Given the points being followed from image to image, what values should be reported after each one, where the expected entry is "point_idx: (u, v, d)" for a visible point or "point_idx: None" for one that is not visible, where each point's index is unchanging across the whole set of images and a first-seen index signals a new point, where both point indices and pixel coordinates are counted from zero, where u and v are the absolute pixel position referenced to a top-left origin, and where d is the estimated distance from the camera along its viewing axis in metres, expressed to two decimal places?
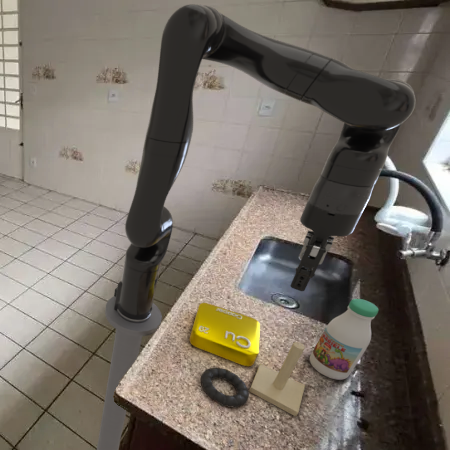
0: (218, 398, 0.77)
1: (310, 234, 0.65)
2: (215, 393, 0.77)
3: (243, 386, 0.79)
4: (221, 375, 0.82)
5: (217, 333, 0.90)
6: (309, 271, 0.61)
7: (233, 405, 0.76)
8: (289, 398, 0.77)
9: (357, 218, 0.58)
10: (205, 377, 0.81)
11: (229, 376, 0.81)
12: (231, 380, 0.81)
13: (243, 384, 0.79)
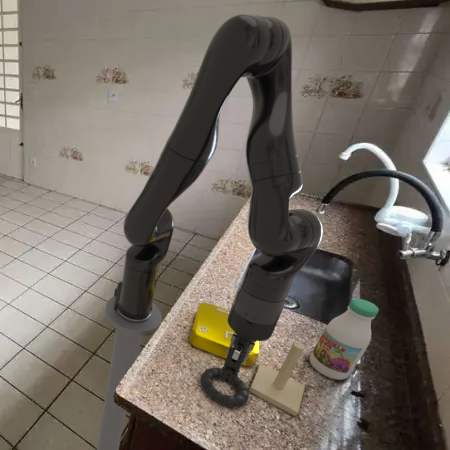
0: (218, 398, 0.77)
1: None
2: (215, 393, 0.77)
3: (243, 386, 0.79)
4: (221, 375, 0.82)
5: (217, 333, 0.90)
6: (233, 371, 0.66)
7: (233, 405, 0.76)
8: (289, 398, 0.77)
9: (273, 326, 0.63)
10: (205, 377, 0.81)
11: None
12: None
13: (243, 384, 0.79)
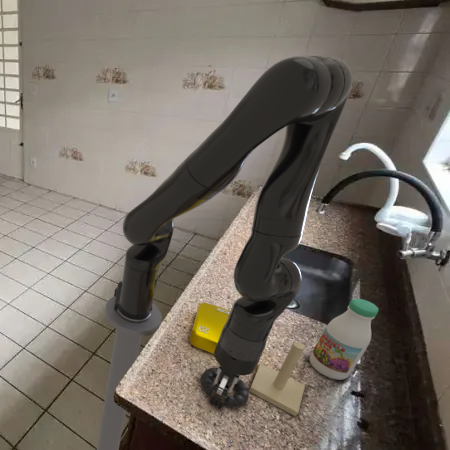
0: None
1: None
2: None
3: (243, 386, 0.79)
4: None
5: (217, 333, 0.90)
6: None
7: (233, 405, 0.76)
8: (289, 398, 0.77)
9: (255, 363, 0.67)
10: (205, 377, 0.81)
11: None
12: None
13: (243, 384, 0.79)
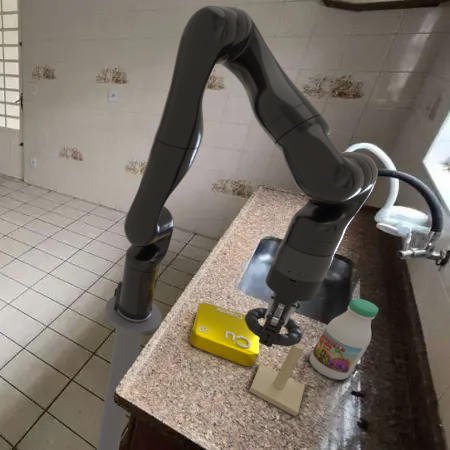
0: None
1: None
2: None
3: (295, 324, 0.69)
4: None
5: (217, 333, 0.90)
6: (274, 331, 0.63)
7: (286, 343, 0.66)
8: (289, 398, 0.77)
9: (319, 285, 0.58)
10: (251, 316, 0.71)
11: None
12: None
13: (295, 323, 0.70)
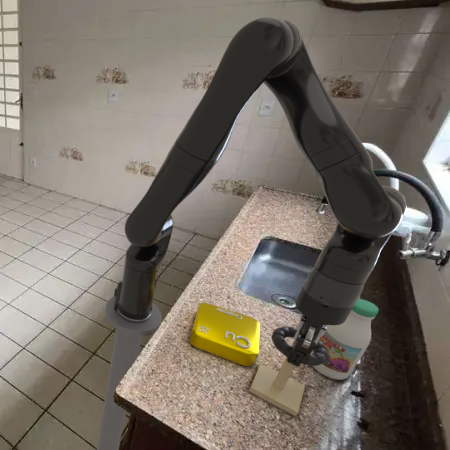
0: None
1: None
2: None
3: (321, 344, 0.72)
4: (293, 334, 0.75)
5: (217, 333, 0.90)
6: (304, 352, 0.66)
7: (314, 363, 0.69)
8: (289, 398, 0.77)
9: (349, 310, 0.61)
10: (278, 335, 0.74)
11: None
12: None
13: (320, 342, 0.72)
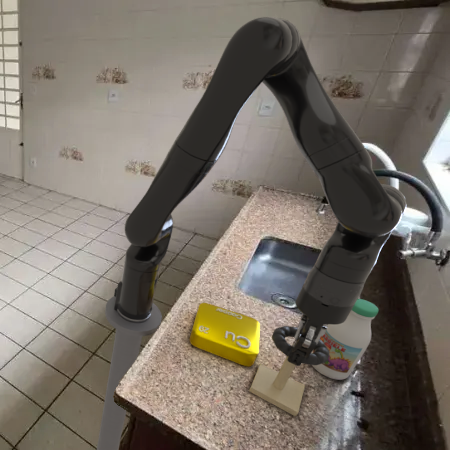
0: None
1: None
2: None
3: (322, 343, 0.72)
4: (294, 333, 0.75)
5: (217, 333, 0.90)
6: (304, 351, 0.66)
7: (314, 362, 0.69)
8: (289, 398, 0.77)
9: (350, 309, 0.61)
10: (278, 335, 0.74)
11: None
12: None
13: (321, 341, 0.72)
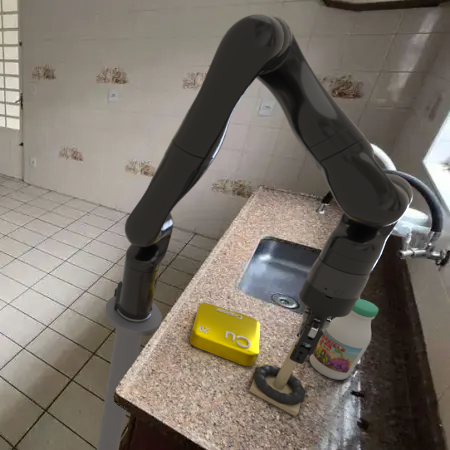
0: (275, 396, 0.75)
1: (309, 308, 0.67)
2: (271, 391, 0.76)
3: (298, 383, 0.77)
4: (274, 373, 0.81)
5: (217, 333, 0.90)
6: (308, 349, 0.63)
7: (291, 403, 0.74)
8: None
9: (354, 301, 0.60)
10: (259, 374, 0.80)
11: None
12: None
13: (298, 381, 0.78)
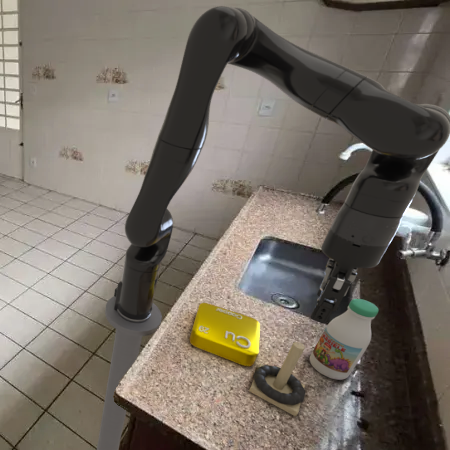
0: (275, 396, 0.75)
1: (331, 263, 0.62)
2: (271, 391, 0.76)
3: (298, 383, 0.77)
4: (274, 373, 0.81)
5: (217, 333, 0.90)
6: (332, 304, 0.58)
7: (291, 403, 0.74)
8: None
9: (384, 250, 0.55)
10: (259, 374, 0.80)
11: None
12: None
13: (298, 381, 0.78)
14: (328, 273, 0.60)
